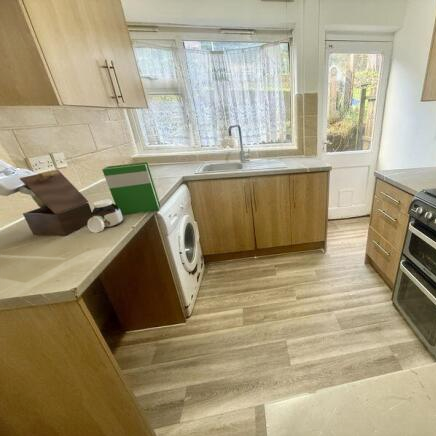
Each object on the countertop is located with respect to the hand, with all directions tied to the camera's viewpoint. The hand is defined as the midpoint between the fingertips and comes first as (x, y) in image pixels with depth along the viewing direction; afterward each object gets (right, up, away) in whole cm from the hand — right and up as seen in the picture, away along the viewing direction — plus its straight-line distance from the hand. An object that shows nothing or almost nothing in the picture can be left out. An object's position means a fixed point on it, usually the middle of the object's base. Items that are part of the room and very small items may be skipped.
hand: (39, 193), depth 103 cm
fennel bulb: (+1, -5, +4) cm, 7 cm away
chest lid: (+7, +1, +1) cm, 7 cm away
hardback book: (+28, -7, +24) cm, 38 cm away
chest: (+4, -15, +8) cm, 17 cm away
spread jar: (+24, -15, +7) cm, 29 cm away
